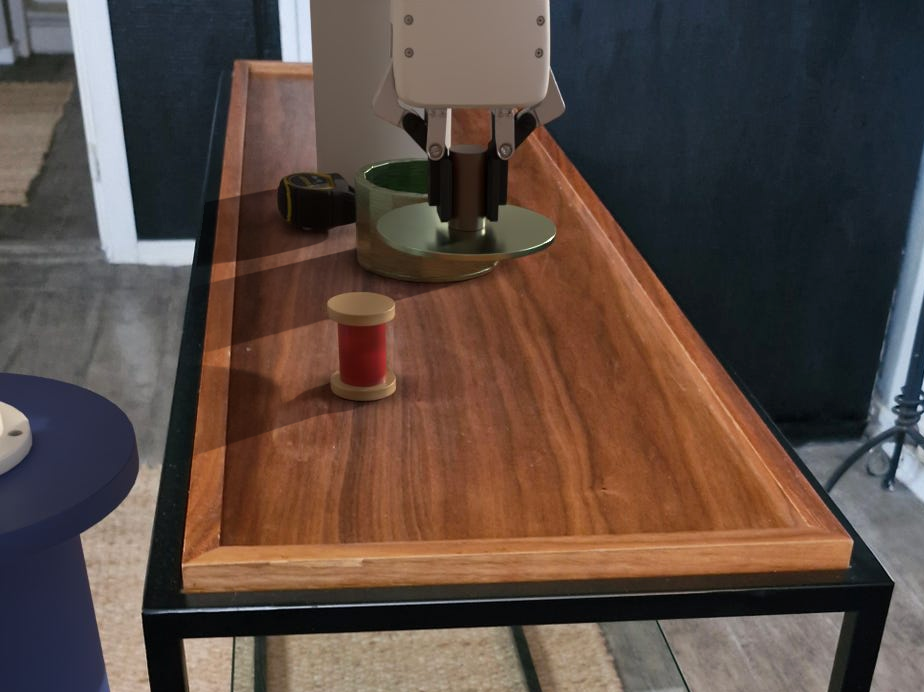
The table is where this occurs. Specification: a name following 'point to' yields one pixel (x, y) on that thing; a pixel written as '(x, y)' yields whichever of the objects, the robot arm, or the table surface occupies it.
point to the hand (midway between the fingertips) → (466, 214)
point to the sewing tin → (388, 191)
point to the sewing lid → (467, 221)
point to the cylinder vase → (354, 88)
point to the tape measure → (316, 200)
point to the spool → (362, 345)
